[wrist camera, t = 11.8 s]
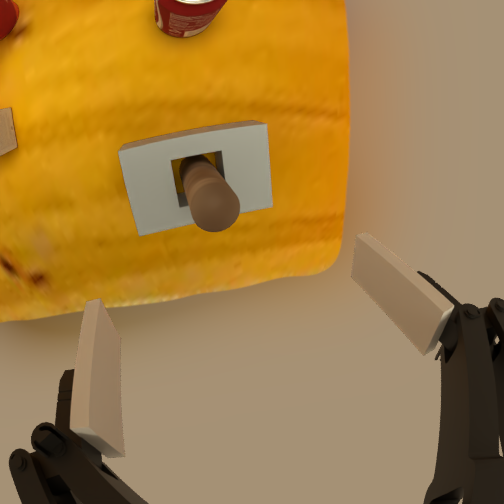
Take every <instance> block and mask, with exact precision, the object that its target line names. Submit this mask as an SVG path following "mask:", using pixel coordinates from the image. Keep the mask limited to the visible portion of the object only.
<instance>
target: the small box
mask: <svg viewBox="0 0 504 504" xmlns="http://www.w3.org/2000/svg"><path fill="white" fill-rule="evenodd" d="M15 148H17V142H16V136H15V131H14V125H13V119H12V112H11V108H5V109H0V156H1V155H3V154H5V153H7V152H9V151H11V150H13V149H15Z"/></svg>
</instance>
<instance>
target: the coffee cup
mask: <svg viewBox="0 0 504 504" xmlns="http://www.w3.org/2000/svg"><path fill="white" fill-rule="evenodd" d="M18 16H19V8H18V6H17V5H16V3H14V2H13V1H12V0H0V40H2V39H3V38H4V37H6V36H7V35H8V34H9V33H10V31H11V30H12V29H13V27H14V26H15V24H16V22H17V19H18Z"/></svg>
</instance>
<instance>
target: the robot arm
mask: <svg viewBox="0 0 504 504" xmlns="http://www.w3.org/2000/svg"><path fill="white" fill-rule="evenodd" d="M351 277H352V278H353V280H354V281H355V282H356V283H357V284H358V285H359V286H360V287H361V288H362V289H363V290H364V291H365V292H366V293H367V294H368V295H369V296H370V297H371V298H372V299H373V301H374V302H375V303H376V304H377V305H378V306H379V307H380V308H381V309H382V310H383V311H384V312H385V313H386V315H387V316H388V317H389V318H390V319H391V320H392V321H393V322H394V323H395V324H396V325H397V327H398V328H399V329H400V330H401V331H402V332H403V333H404V334H405V335H406V337H407V338H408V339H409V340H410V341H411V342H412V343H413V345H414V346H415V347H416V348H417V349H418V350H419V351H420V352H421V354H422V355H426V354H427V353H429V352H430V351H432V350H434V349H435V347H436V345H437V343H438V341H440V342H441V343H442V345H441V347H440V349H439V351H438V353H437V355H436V357H435V360H437V359H438V357H439V356H440V354H441V359H440V361H441V416H440V431H439V443H438V452H437V460H436V468H435V474H434V479H433V481H432V483H431V484H430V486H429V487H428V490H427V492H426V495H425V499H424V504H458V502H459V501H460V499H462V498H463V502H462V504H504V300H502V299H500V298H493V299H492V300H491V301H490V303H489V305H488V307H485V308H480V309H479V308H478V307H476V306H475V305H472V304H463V305H462V304H460V303H459V302H458V301H457V300H456V299H455V298H454V297H453V296H451V295H450V294H449V293H448V292H447V291H446V290H445V289H443V288H441V286H440V285H439V284H438V283H435V281H434V280H433V279H432V278H430V277H429V276H428V275H426V274H424V273H422V272H420V271H418V272H416V271H415V270H413V269H412V268H411V267H410V266H408V265H407V264H406V263H405V262H404V261H403V260H401V259H400V258H399V257H398V256H396V255H395V254H394V253H393V252H391V251H390V250H389V249H387V248H386V247H385V246H384V245H383V244H381V243H380V242H379V241H377V240H376V239H375V238H374V237H372V236H371V235H370V234H369V233H363V234H359V235H356V239H355V248H354V257H353V265H352V273H351ZM497 336H498V338H499V340H500V341H499V342H498V344H496V343H495V339H496V337H497ZM120 360H121V338H120V336H119V334H118V332H117V330H116V328H115V326H114V325H113V323H112V321H111V319H110V317H109V315H108V313H107V311H106V309H105V307H104V305H103V303H102V301H101V299H100V298H99V299H95V300H91V301H87V302H86V306H85V311H84V316H83V320H82V326H81V331H80V337H79V343H78V349H77V356H76V363H75V369H72V370H65V372H64V374H63V376H62V378H61V379H60V383H59V394H58V402H57V410H56V420H55V426H54V425H53V424H52V423H48V422H45V423H41V424H39V425H38V426H36V428H35V429H34V431H33V433H32V436H31V444H32V446H33V449H34V450H36V451H35V452H33V453H28V452H27V451H26V450H24V449H16V450H15V451H13V452H12V454H11V456H10V459H9V467H10V471H11V475H12V478H13V481H14V484H15V486H16V489H17V492H18V495H19V497H20V500H21V502H22V504H148V503H147V502H146V501H145V500H143V499H142V498H141V497H140V496H139V495H137V494H136V493H135V492H134V491H133V490H132V489H131V488H130V487H129V486H127V485H126V484H125V483H124V482H123V481H122V480H121V479H120V478H119V477H118V476H117V475H116V474H115V473H114V472H113V471H112V470H111V469H110V468H109V467H108V466H107V465H106V464H105V463H103V462H102V456H101V453H102V454H103V455H105V456H106V457H108V458H116V457H125V450H124V439H123V427H122V410H121V382H120V381H121V375H120V374H121V373H120V371H121V369H120ZM499 437H500V442H501V447H502V452H503V457H502V456H500V455H499ZM81 502H82V503H81Z"/></svg>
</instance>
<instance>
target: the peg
mask: <svg viewBox="0 0 504 504" xmlns="http://www.w3.org/2000/svg"><path fill="white" fill-rule="evenodd" d="M179 172H180V176H181V180H182V183H183V187H184V191H185V194H186V198H187V201H188V204H189V208H190V211H191V215H192V218H193V220H194V222H195V223H196V225H197V226H198V227H200V228H201V229H203V230H205V231H209V232H219V231H222V230H225V229H227V228H229V227H230V226H231V225H232V224H233V223H234V222H235V221H236V219H237V218H238V215H239V212H240V201H239V199H238V197H237V195H236V194H235V192H234V191H233V190H232V189H231V187H230V186H229V185H228V183H227V182H226V181H225V180H224V178H223V177H222V176H221V175H220V173H219V172H218V171H217V170H216V168H215V167H214V166H213V165H212V163H211V162H210V161H209V160H208V158H207V157H205V156H204V155H202V154H199V155H193V156H188V157H185V158H184V159H183V160H182V162H181V164H180V167H179Z"/></svg>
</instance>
